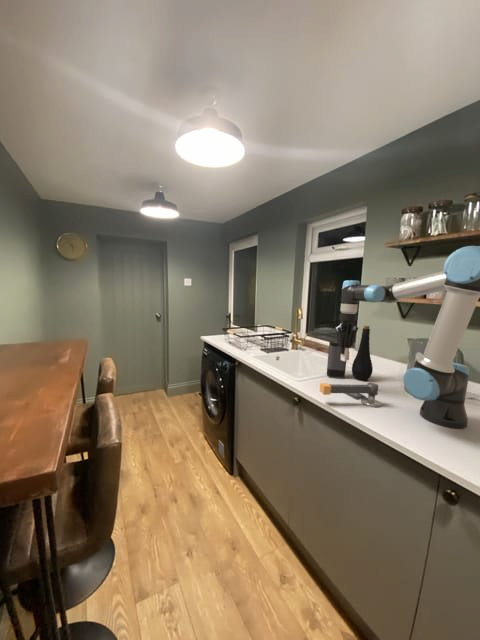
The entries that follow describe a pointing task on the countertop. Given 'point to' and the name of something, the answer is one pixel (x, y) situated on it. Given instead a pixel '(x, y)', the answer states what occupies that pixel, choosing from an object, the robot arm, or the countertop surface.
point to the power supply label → (356, 395)
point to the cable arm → (348, 388)
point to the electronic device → (335, 362)
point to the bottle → (363, 358)
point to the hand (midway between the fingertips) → (343, 360)
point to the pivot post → (370, 401)
